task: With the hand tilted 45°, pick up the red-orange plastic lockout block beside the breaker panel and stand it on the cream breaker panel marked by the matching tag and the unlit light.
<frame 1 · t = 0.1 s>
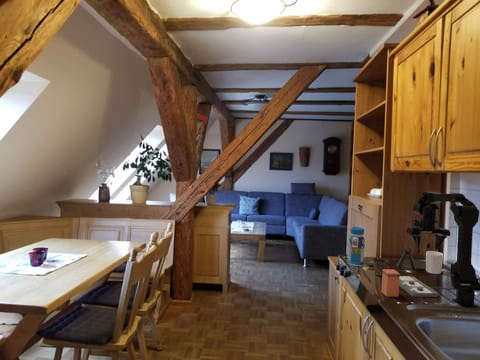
hand: (426, 248, 163), 15 cm above the counter, tool pointing down, fingers open, 9 cm apart
phone stand: (406, 269, 177), on the counter
white cup: (433, 272, 174), on the counter
lockout block: (389, 294, 143), on the counter
breaker panel: (413, 287, 151), on the counter
beverage bottle: (355, 264, 182), on the counter
cup: (380, 275, 166), on the counter
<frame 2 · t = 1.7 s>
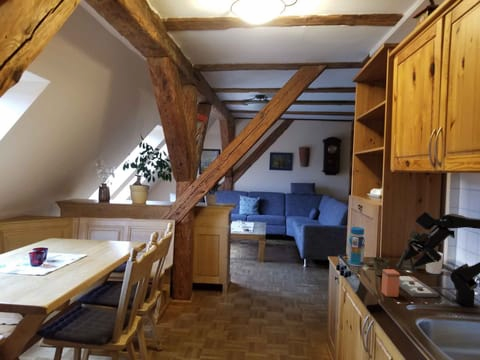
hand: (408, 263, 143), 13 cm above the counter, tool tilted 45°, fingers open, 9 cm apart
nothing on the counter moved.
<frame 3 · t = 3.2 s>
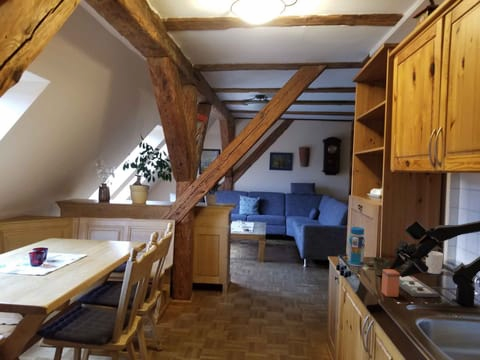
hand: (395, 272, 143), 9 cm above the counter, tool tilted 45°, fingers open, 9 cm apart
nothing on the counter moved.
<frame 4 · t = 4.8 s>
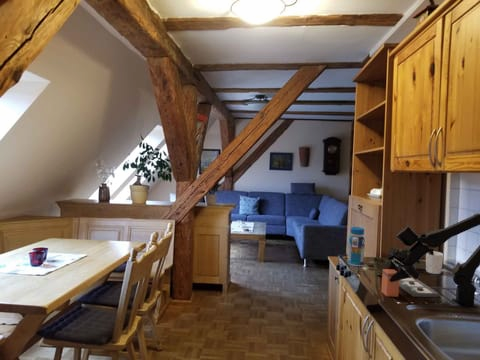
hand: (387, 278, 143), 7 cm above the counter, tool tilted 45°, fingers closed on lockout block, 5 cm apart
lockout block: (389, 294, 143), on the counter, touching gripper
everything else where it was.
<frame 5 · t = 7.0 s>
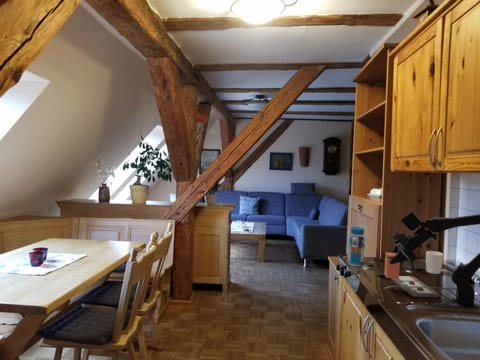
hand: (388, 261, 148), 12 cm above the counter, tool tilted 45°, fingers closed on lockout block, 5 cm apart
lockout block: (391, 276, 148), point 6 cm above the counter, touching gripper
everything else where it was.
when the fingers open (9 cm above the counter, at t = 9.2 s): lockout block drops 1 cm, resting on breaker panel.
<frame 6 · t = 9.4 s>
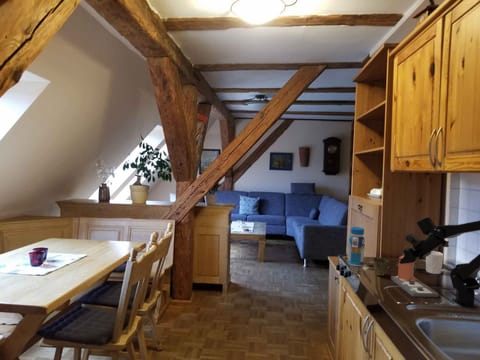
hand: (403, 261, 159), 9 cm above the counter, tool tilted 45°, fingers open, 7 cm apart
lockout block: (405, 278, 158), point 2 cm above the counter, touching breaker panel
everything else where it was.
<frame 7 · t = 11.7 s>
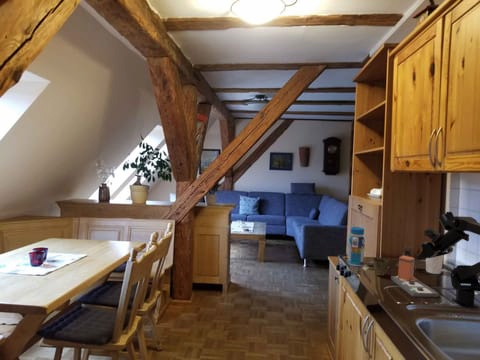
hand: (423, 258, 153), 13 cm above the counter, tool tilted 40°, fingers open, 9 cm apart
nothing on the counter moved.
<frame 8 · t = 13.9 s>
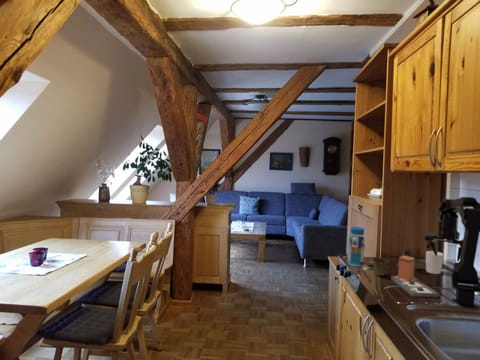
hand: (446, 258, 157), 12 cm above the counter, tool pointing down, fingers open, 9 cm apart
nothing on the counter moved.
at the end: lockout block 0.0 cm from the target spot on the breaker panel, point 1.6 cm above the breaker panel's base; lockout block tilted 1°; the gripper is holding nothing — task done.
